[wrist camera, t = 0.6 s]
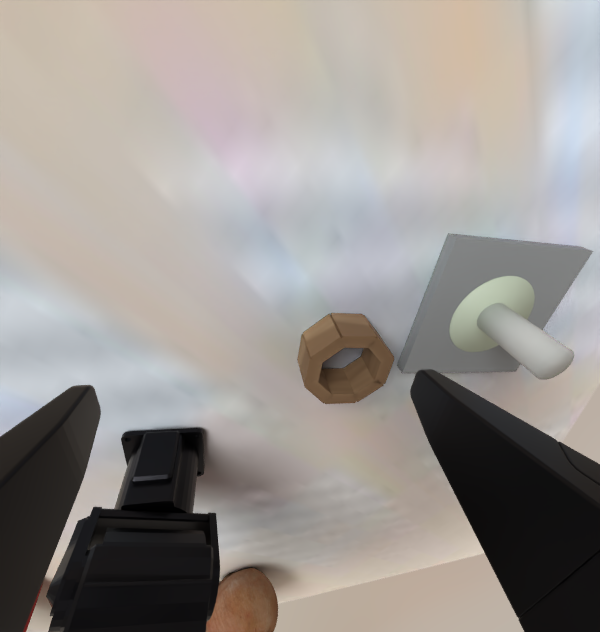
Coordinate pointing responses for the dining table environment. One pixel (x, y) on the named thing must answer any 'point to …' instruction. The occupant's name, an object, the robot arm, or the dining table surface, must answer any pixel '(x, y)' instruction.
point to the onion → (244, 604)
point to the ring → (355, 376)
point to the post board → (469, 274)
